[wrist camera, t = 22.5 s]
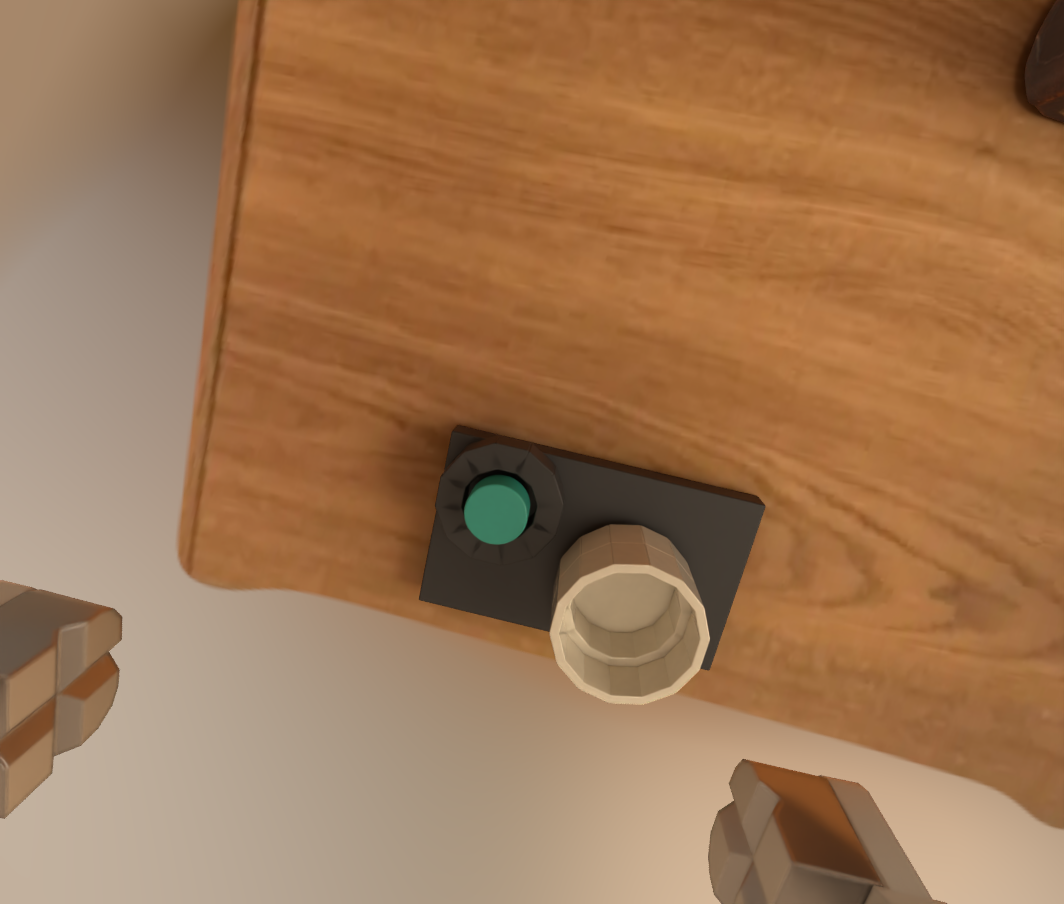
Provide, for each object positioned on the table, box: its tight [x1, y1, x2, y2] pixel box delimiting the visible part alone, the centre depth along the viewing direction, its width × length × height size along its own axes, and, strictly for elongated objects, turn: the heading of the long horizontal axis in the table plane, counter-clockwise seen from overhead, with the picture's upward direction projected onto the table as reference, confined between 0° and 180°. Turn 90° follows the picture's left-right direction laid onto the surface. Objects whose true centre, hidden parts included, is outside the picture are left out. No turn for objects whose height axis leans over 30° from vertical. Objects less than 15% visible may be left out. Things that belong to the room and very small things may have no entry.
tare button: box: [464, 475, 530, 544], centre depth 29 cm, size 3×3×2 cm
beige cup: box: [550, 524, 710, 705], centre depth 29 cm, size 6×7×5 cm
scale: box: [419, 425, 765, 670], centre depth 31 cm, size 15×9×3 cm, turn 77°
